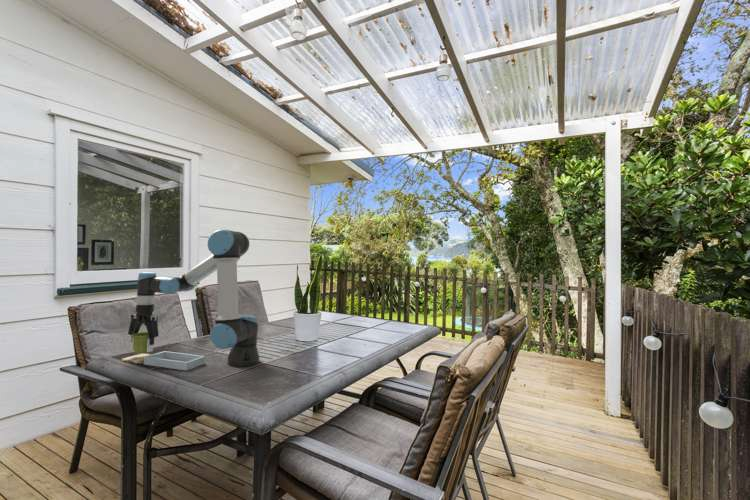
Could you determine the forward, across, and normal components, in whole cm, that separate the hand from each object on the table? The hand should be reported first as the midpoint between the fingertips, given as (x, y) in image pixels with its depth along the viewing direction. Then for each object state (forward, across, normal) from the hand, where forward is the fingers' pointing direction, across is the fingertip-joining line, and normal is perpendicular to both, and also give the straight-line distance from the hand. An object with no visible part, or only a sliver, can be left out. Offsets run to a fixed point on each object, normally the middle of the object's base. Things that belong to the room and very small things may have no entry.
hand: (142, 350), depth 180 cm
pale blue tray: (+4, -19, 0) cm, 20 cm away
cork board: (+4, 0, 0) cm, 4 cm away
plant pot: (+1, 0, 0) cm, 1 cm away
